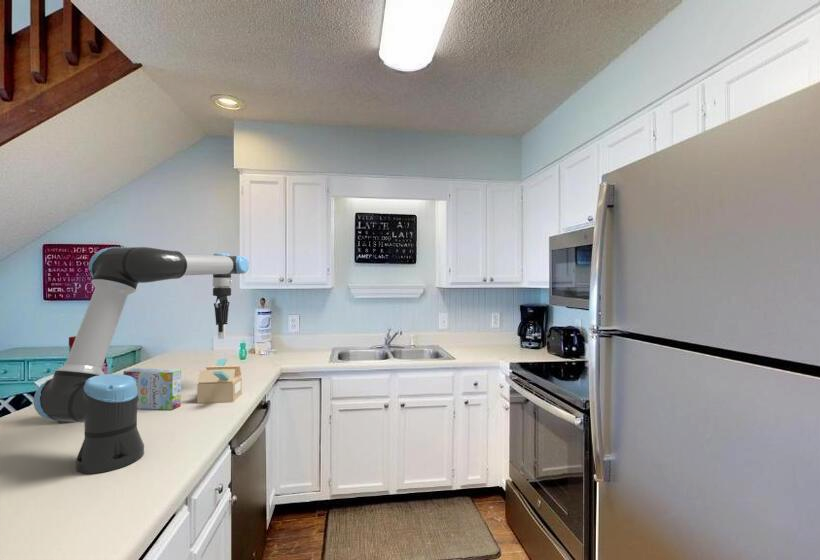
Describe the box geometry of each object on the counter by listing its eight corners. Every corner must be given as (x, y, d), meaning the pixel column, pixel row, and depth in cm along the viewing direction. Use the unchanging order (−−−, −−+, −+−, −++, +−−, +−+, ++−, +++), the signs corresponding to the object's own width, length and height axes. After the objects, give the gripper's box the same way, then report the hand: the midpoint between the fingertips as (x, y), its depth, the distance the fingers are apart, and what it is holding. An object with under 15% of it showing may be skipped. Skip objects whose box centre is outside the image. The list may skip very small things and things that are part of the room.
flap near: (233, 381, 157) (226, 376, 149) (198, 382, 156) (188, 377, 147) (235, 369, 160) (228, 363, 151) (200, 370, 158) (191, 364, 150)
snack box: (182, 405, 153) (182, 368, 153) (171, 410, 147) (171, 372, 147) (133, 404, 155) (133, 367, 155) (121, 408, 149) (121, 370, 149)
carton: (233, 402, 157) (233, 382, 157) (197, 403, 155) (197, 384, 155) (242, 394, 168) (242, 376, 168) (208, 395, 166) (208, 377, 166)
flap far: (208, 376, 166) (215, 362, 174) (241, 375, 168) (247, 361, 176) (206, 367, 163) (213, 353, 172) (239, 366, 165) (245, 352, 174)
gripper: (225, 287, 167) (225, 340, 167) (235, 287, 180) (235, 336, 180) (207, 287, 166) (207, 341, 166) (218, 287, 179) (218, 336, 179)
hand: (221, 338), depth 173 cm, fingers closed
